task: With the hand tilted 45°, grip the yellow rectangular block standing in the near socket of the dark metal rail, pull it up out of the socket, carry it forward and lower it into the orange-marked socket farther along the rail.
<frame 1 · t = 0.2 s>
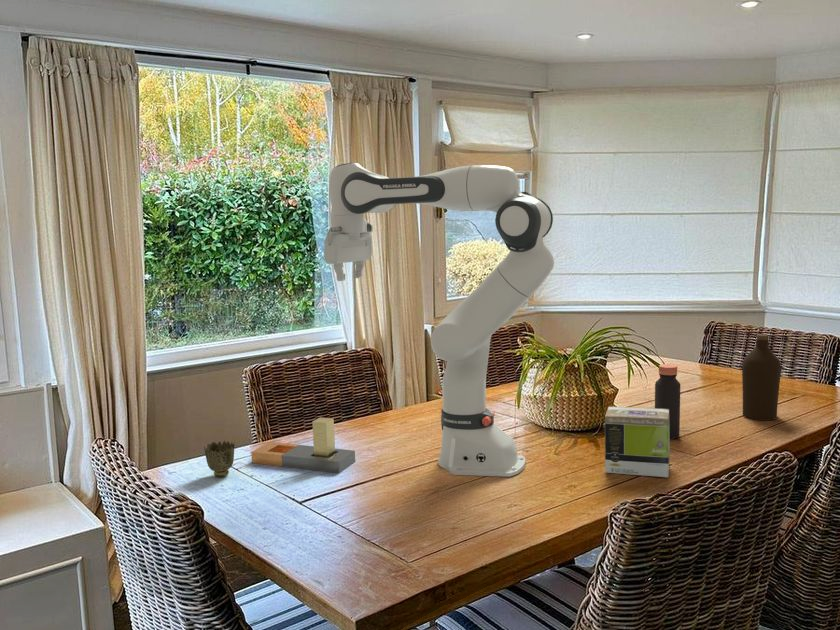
hand: (349, 279, 200), 47 cm above the table, tool pointing down, fingers open, 8 cm apart
cup: (221, 476, 192), on the table
tea box: (637, 470, 187), on the table
yellow rectangular block: (325, 464, 197), resting in rail
rail: (303, 462, 200), on the table
bottle: (666, 436, 213), on the table
olive oil: (759, 416, 229), on the table
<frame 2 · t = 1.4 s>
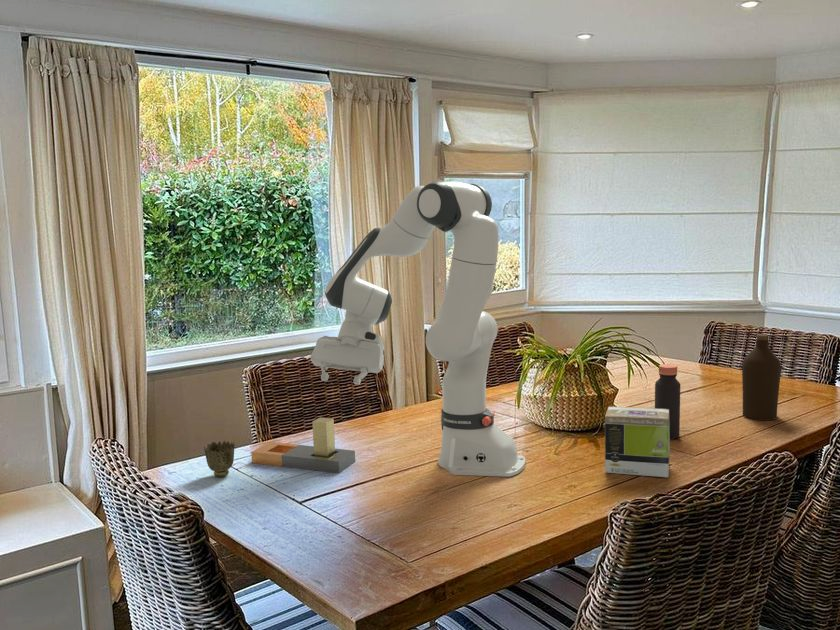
hand: (340, 381, 206), 19 cm above the table, tool tilted 45°, fingers open, 8 cm apart
nothing on the table moved.
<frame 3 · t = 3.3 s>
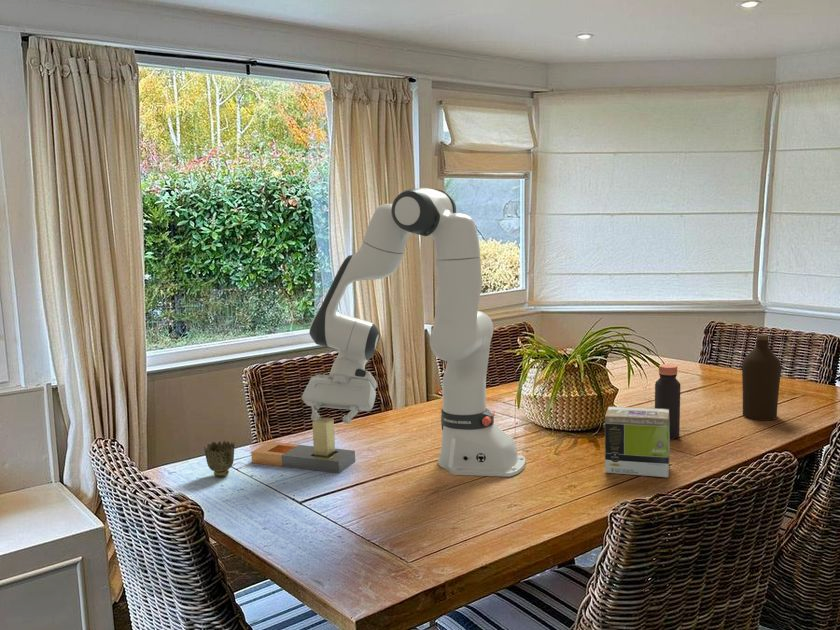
hand: (329, 421, 200), 11 cm above the table, tool tilted 45°, fingers open, 8 cm apart
nothing on the table moved.
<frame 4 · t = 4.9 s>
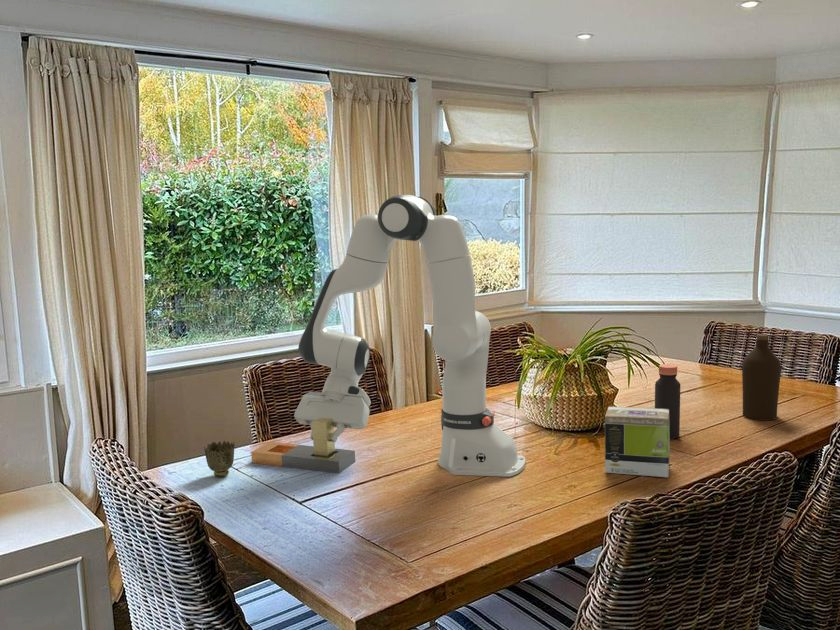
hand: (322, 439, 196), 7 cm above the table, tool tilted 45°, fingers closed on yellow rectangular block, 4 cm apart
yellow rectangular block: (325, 464, 197), resting in rail, touching gripper
everything else where it was.
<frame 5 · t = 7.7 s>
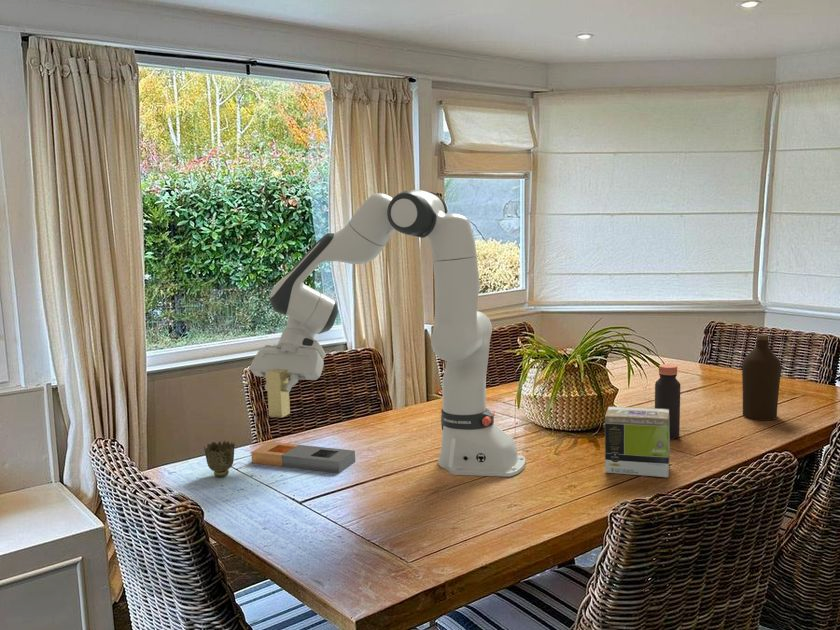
hand: (276, 390, 199), 19 cm above the table, tool tilted 45°, fingers closed on yellow rectangular block, 4 cm apart
yellow rectangular block: (279, 414, 200), point 12 cm above the table, touching gripper
everything else where it was.
when the fingers open (8 cm above the table, at t = 10.5 s): yellow rectangular block drops 1 cm, resting in rail.
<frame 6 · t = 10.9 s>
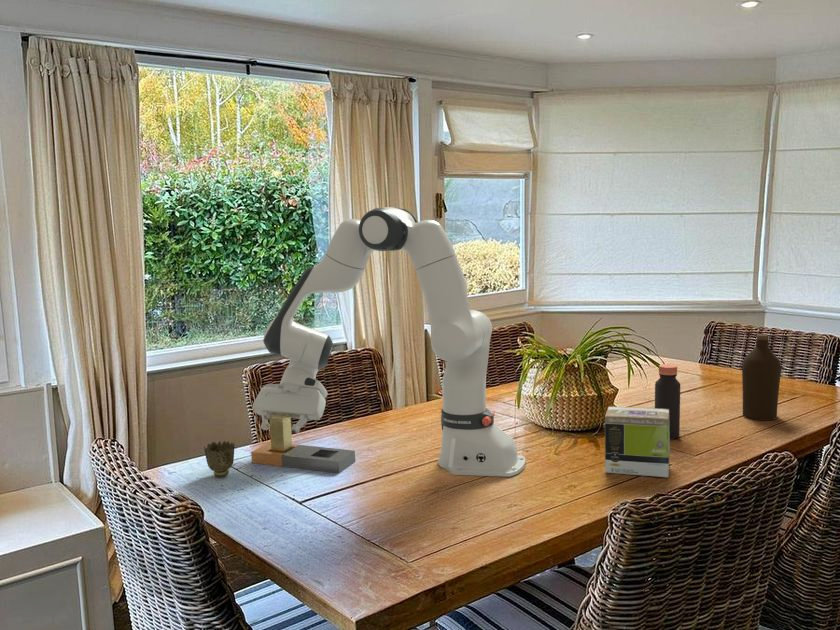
hand: (279, 430, 200), 8 cm above the table, tool tilted 45°, fingers open, 8 cm apart
yellow rectangular block: (282, 459, 202), resting in rail
everything else where it was.
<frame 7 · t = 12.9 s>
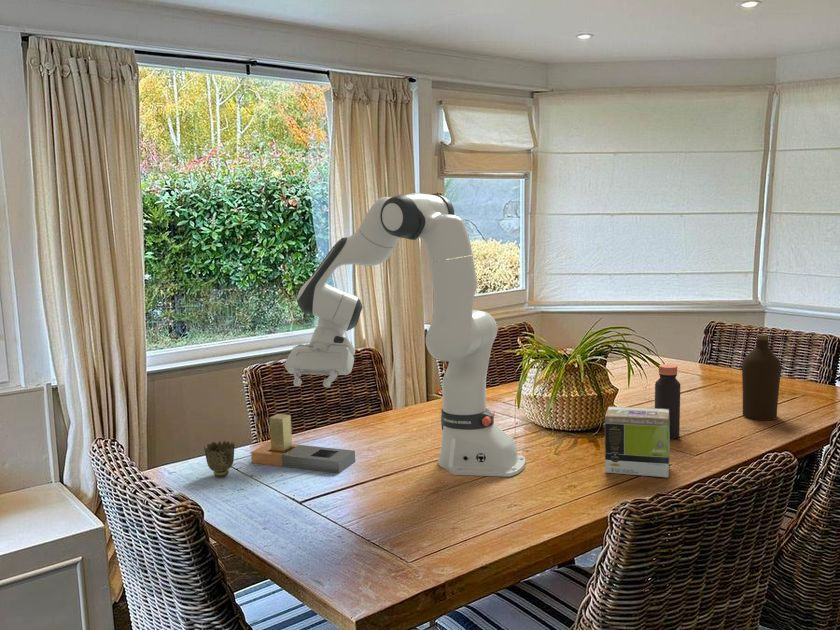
hand: (311, 385, 211), 17 cm above the table, tool tilted 45°, fingers open, 8 cm apart
nothing on the table moved.
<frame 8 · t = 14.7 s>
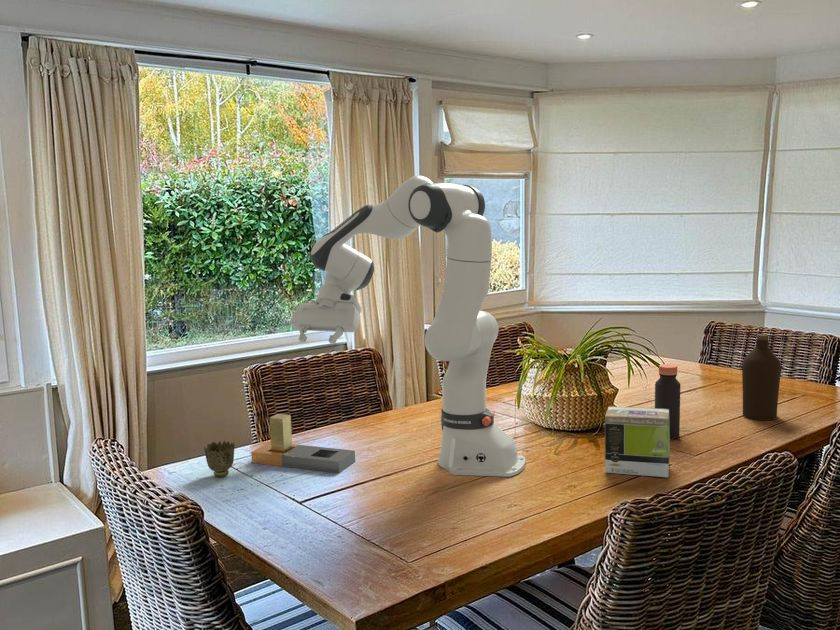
hand: (316, 341, 211), 29 cm above the table, tool tilted 45°, fingers open, 8 cm apart
nothing on the table moved.
at the end: yellow rectangular block 0.1 cm from the target spot on the rail, point 0.0 cm above the rail's base; yellow rectangular block tilted 0°; the gripper is holding nothing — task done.
